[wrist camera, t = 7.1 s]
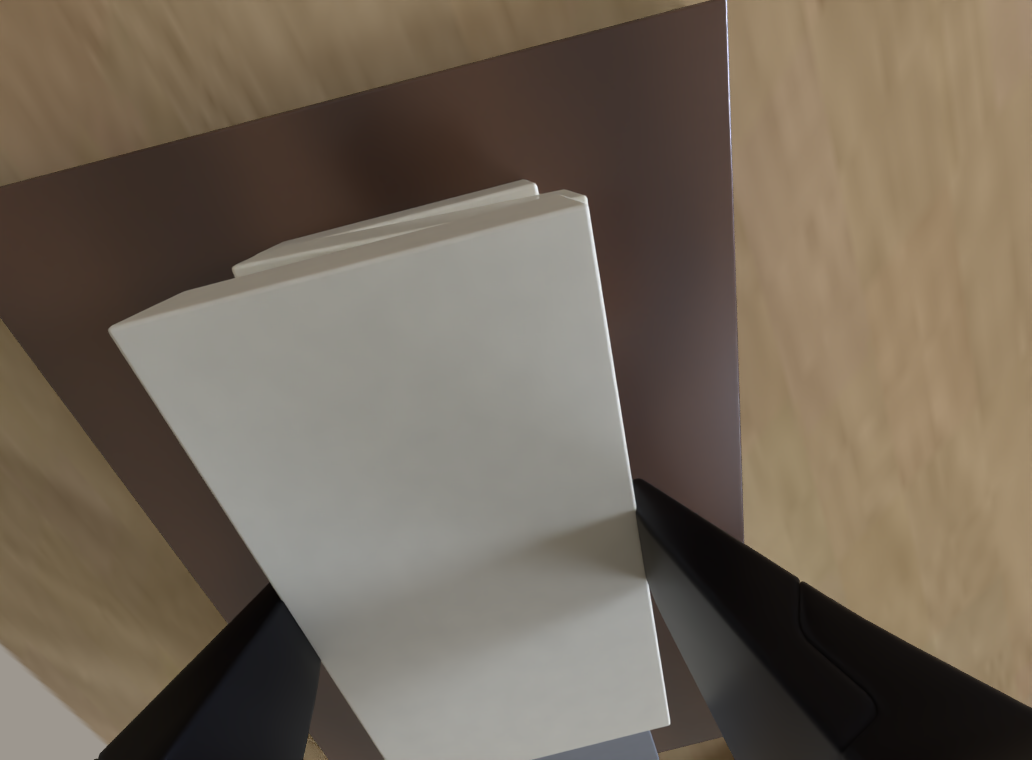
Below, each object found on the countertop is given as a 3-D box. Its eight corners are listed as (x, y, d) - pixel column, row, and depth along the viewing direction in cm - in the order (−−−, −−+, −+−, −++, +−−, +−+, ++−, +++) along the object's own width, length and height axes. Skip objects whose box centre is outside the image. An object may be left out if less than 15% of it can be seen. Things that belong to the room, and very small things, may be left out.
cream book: (561, 193, 7) (589, 202, 6) (643, 649, 12) (671, 726, 10) (182, 291, 7) (101, 328, 6) (412, 707, 12) (404, 792, 10)
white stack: (549, 169, 11) (584, 174, 8) (615, 521, 16) (653, 614, 13) (272, 241, 11) (196, 275, 8) (420, 571, 16) (409, 676, 13)
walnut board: (697, 13, 12) (728, -6, 10) (734, 697, 24) (750, 730, 22) (-21, 202, 12) (-85, 207, 10) (381, 786, 24) (376, 824, 22)
